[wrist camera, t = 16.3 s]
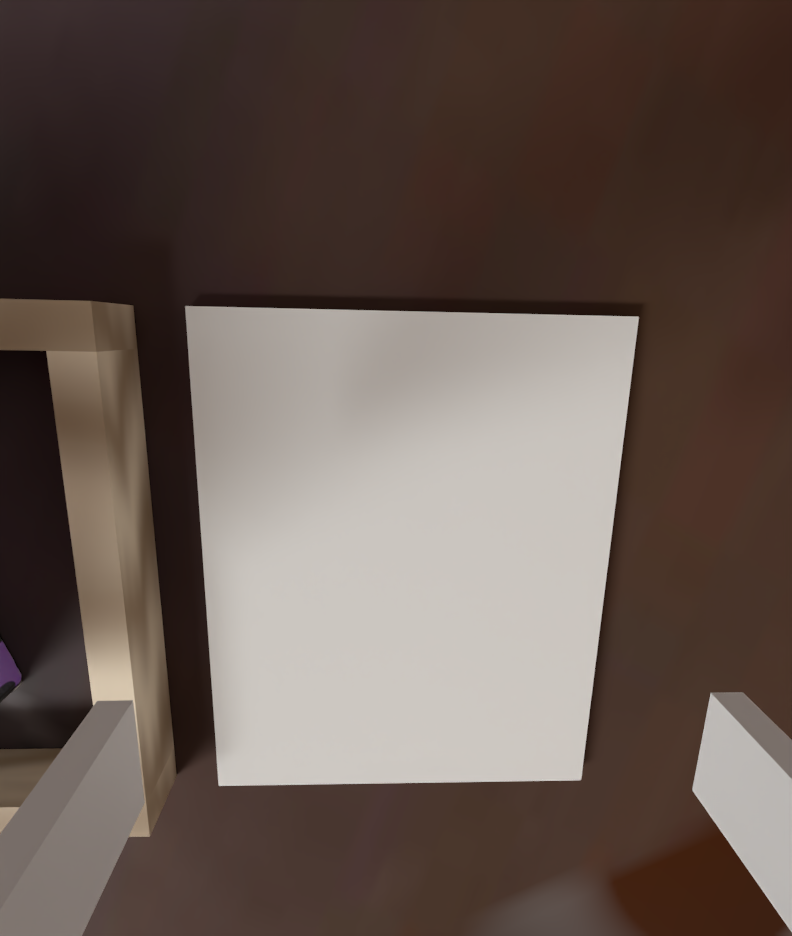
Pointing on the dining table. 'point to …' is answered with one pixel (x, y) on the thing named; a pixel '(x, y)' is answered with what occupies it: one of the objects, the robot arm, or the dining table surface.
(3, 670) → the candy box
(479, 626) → the place mat
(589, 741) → the dining table surface
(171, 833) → the dining table surface
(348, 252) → the dining table surface
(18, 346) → the pocket frame
